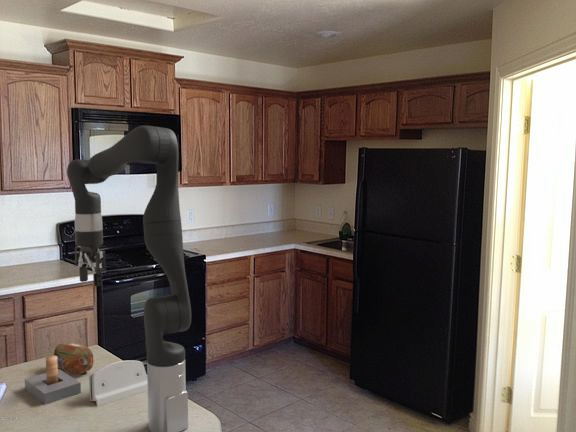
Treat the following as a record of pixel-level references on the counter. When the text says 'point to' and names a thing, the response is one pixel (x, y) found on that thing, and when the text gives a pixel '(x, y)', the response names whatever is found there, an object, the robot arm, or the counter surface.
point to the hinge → (117, 381)
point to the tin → (74, 358)
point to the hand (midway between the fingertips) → (90, 283)
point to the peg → (51, 370)
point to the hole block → (52, 387)
